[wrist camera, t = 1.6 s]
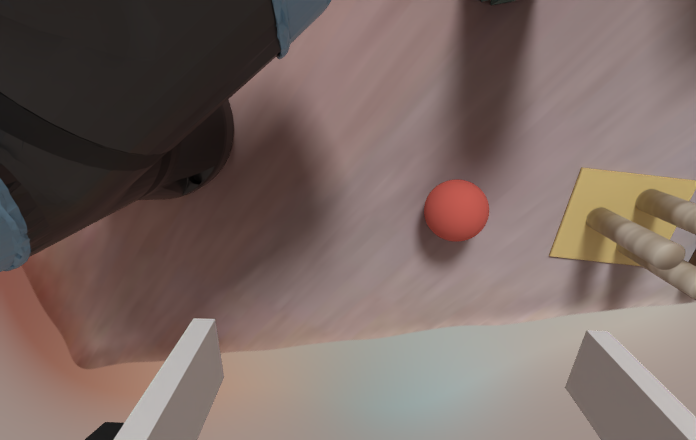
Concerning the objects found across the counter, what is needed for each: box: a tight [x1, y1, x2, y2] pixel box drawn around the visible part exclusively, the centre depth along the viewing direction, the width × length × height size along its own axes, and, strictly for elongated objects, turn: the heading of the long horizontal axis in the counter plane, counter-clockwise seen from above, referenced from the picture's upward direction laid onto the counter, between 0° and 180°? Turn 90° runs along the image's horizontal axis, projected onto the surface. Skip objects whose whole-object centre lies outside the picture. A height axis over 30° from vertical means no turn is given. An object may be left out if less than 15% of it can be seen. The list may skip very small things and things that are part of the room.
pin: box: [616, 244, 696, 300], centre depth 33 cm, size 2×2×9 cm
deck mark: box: [549, 168, 696, 266], centre depth 36 cm, size 12×10×1 cm
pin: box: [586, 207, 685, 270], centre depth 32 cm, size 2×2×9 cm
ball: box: [424, 180, 489, 241], centre depth 33 cm, size 6×6×6 cm
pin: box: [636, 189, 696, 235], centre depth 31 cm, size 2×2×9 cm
